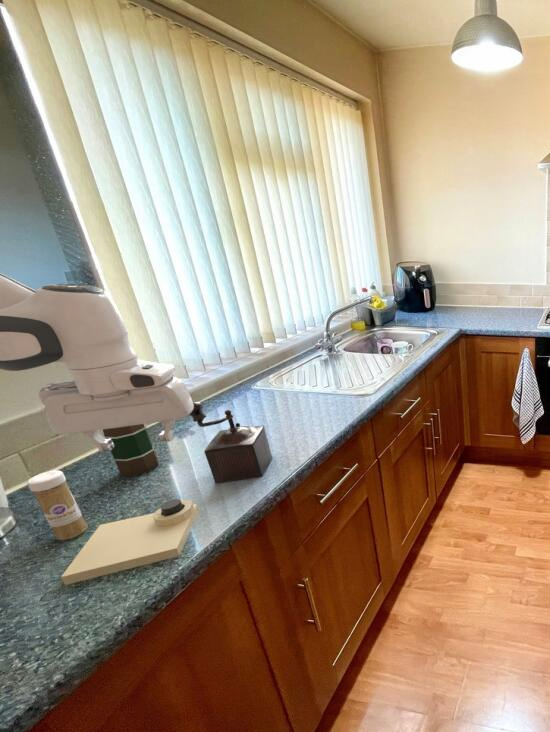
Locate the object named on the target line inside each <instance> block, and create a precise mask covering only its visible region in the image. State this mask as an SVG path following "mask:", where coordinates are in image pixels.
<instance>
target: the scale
mask: <svg viewBox="0 0 550 732" xmlns="http://www.w3.org/2000/svg"><path fill="white" fill-rule="evenodd" d="M180 500H181V503H182V505H183V509H182V510H181V511H180V512H178V513H176V514H173V515H169V516H164V515H163V513H162V510H161V507H160V508H158V509H156V511H154V512H153V513H148V514H144V515H138V516H135V517H134V516H133V517H130V518H129V517H128V518H125V519H121V520H117V521H112V522H108V523H102V524H99V525H98V527H97V528H96V529H95V531H94V532H93V533H92V535H91V536H90V537H89V539H88V540H87V541H86V543H84V546H83V547H82V548H81V549H80V551H79V552H78V553H77V554H76V556H75V557H74V558H73V560H72V562H71V563H70V564H69V566H68V567H67V568H66V569H65V571H64V572H63V573H62V575H61V576H60V579H61V581H62V582H63V584H64V585H65V586H67V585H71V584H75V583H80V582H83V581H87V580H91V579H95V578H100V577H104V576H106V575H111V574H114V573H118V572H123V571H126V570H129V569H134V568H138V567H141V566H145V565H149V564H154V563H157V562H161V561H165V560H169V559H174V558H177V557H180V556H181V554H182V552H183V549H184V547H185V545H186V542H187V540H188V538H189V536H190V533H191V531H192V528H193V526H194V524H195V522H196V520H197V517H198V515H199V513H200V508H199V506H198V504H197V503H193V502H191V500H187V499H180Z"/></svg>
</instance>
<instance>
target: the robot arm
mask: <svg viewBox="0 0 550 732" xmlns="http://www.w3.org/2000/svg"><path fill="white" fill-rule="evenodd" d="M52 363H63V364H65V366H66V367H67V369H68V371H69V374H70V376H71V378H72V380H69V381H63V382H50V383H47V384H45V385H44V386H43V387H41V388H40V389H39V391H38V397H39V399H40V401H41V403H42V405H44V412H45V415H46V418H47V421H48V424H49V426H50V427H49V428H50V429H51V430H52V432H53V433H55V434H57V435H59V436H65V435H66V436H67V435H73V434H82V435H83V437H84V439H86V440H88V441H89V442H91V443H93V444H94V445H95V446H96V447H97V449H98V451H99V452H101V453H102V452H107V451H111V450H112V448H114V443H112V442H113V441H112V439H111V438H110V439H106V438H105V436H104V435H102V434H101V433H100V431H103V429H110V428H118V427H125V426H133V425H140V424H145V425H146V424H153V423H154V424H155V423H160V424H161V426H162V427H165V428H164V430H162V431H161V432H160V433H159V434H158V439H160V440H159V441H160V442H161V443H169V442H173V440H174V438H175V435H174V434H173V429H174V426H175V423H176V420H177V421H178V420H183V419H187V417H189V416H190V415H189V414H190V413H191V412H192V411H193V409H194V405H193V402H194V401H193V399H192V396H191V394H190V392H189V390H188V388H187V386H186V385H185V383H184V382H183V381H182V379H180V378H178V377H175V376H176V374H177V369H176V367H175V366H174V365H173V364H168V363H162V362H155V361H149V360H143V359H139V358H138V355H137V353H136V352H135V350H134V349H133V347H132V346H131V345H130V343H129V331H128V329H127V326H126V324H125V322H124V318H123V317H122V315H121V313H120V311H119V309H118V307H117V305H116V303H115V301H114V299H112V297H111V295H110V294H109V293H108V292H107V291H106V290H104V289H102V288H100V287H97V286H94V285H91V284H85V283H51V284H46V285H42V286H41V287H39V288H38V289H34V288H32V287H30V286H28V285H26V284H24V283H22V282H20V281H18V280H17V279H15V278H12V277H11V276H9V275H6V274H5V273H3V272H0V370H2V371H9V372H19V371H27V370H33V369H37V368H40V367H42V366H46V365H49V364H52Z"/></svg>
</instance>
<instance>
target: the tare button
mask: <svg viewBox="0 0 550 732" xmlns="http://www.w3.org/2000/svg"><path fill="white" fill-rule="evenodd" d="M181 500H182V499H180V498H174V499H169V500H168V501H165V502H164V503H162V504H161V505H160V508H161V510H162V513H163V515H164V516H169V515H173V514H176V513H178V512H180V511H181V510H182V509H183V505H182V503H181Z"/></svg>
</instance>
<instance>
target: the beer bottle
mask: <svg viewBox="0 0 550 732" xmlns="http://www.w3.org/2000/svg"><path fill="white" fill-rule="evenodd" d="M102 433H103V437H104V438H106V439H110V438H111V439H112V441H113V442H112V443H114V448H112V450H110V454H111V456H112V457H113V460H114V462H115V464H116V467H117V469H118V471H119V473H120V475H121V476H123V477H135V476H139V475H143V474H146V473H148V472H151V471H152V470H154V469H155V468H157V467H158V466H159V458H158V455H157V452H156V449H155V446H154V444H153V441H152V438H151V436H150V433H149V430H148V428H147V425H146V424H140V425H133V426H125V427H118V428H110V429H103V430H102Z"/></svg>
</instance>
